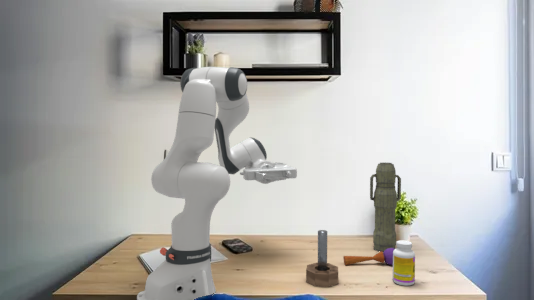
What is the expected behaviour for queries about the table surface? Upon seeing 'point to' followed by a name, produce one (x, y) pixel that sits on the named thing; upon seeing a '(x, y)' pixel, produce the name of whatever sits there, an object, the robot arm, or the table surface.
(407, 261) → the supplement bottle
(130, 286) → the table surface
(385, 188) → the thermos
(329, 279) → the bead
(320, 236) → the grey metal peg
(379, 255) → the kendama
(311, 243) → the table surface
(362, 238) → the table surface
